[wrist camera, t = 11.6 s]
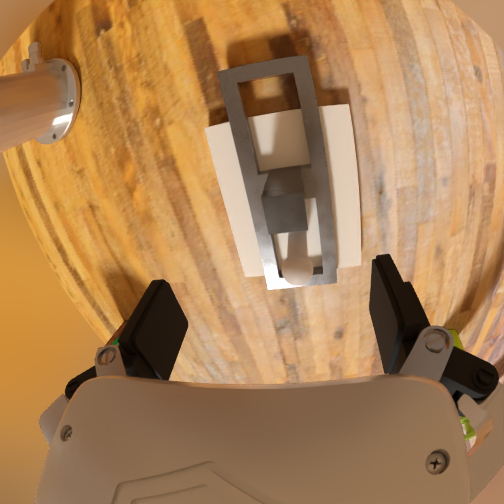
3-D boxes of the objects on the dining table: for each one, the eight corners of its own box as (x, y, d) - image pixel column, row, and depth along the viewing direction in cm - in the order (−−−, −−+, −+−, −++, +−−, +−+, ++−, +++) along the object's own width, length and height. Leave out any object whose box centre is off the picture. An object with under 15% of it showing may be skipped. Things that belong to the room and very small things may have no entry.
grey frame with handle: (221, 73, 21) (191, 64, 14) (306, 57, 19) (312, 39, 13) (269, 281, 33) (262, 330, 26) (335, 275, 31) (343, 324, 24)
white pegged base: (208, 126, 26) (171, 141, 18) (345, 103, 22) (372, 106, 14) (247, 270, 34) (232, 324, 27) (358, 258, 31) (374, 312, 23)
